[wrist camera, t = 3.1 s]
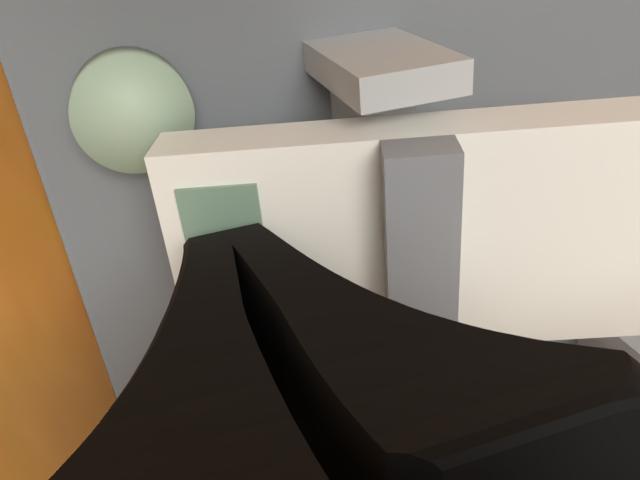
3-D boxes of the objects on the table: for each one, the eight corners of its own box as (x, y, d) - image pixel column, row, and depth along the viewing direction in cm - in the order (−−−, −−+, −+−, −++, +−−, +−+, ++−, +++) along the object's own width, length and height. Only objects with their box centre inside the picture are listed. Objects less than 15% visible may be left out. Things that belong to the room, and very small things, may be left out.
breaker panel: (804, -121, 15) (1019, -130, 11) (637, 488, 26) (719, 577, 23) (-18, -28, 11) (-77, 2, 7) (207, 648, 22) (227, 786, 19)
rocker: (666, 93, 11) (733, 133, 9) (624, 298, 13) (671, 362, 11) (161, 132, 11) (130, 177, 9) (204, 324, 13) (185, 389, 11)
